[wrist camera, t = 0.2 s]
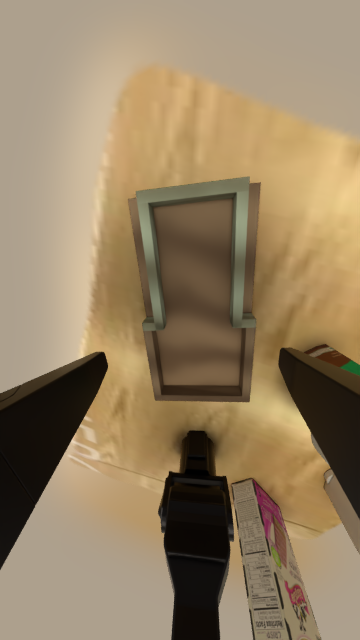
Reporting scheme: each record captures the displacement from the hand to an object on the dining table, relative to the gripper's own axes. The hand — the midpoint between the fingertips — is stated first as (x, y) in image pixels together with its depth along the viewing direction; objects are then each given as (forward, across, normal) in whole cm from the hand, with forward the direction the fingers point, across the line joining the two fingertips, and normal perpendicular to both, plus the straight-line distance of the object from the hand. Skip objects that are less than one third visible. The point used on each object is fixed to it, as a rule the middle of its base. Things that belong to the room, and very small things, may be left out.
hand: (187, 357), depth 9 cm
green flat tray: (+14, 0, +4) cm, 14 cm away
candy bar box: (+14, -10, +42) cm, 45 cm away
